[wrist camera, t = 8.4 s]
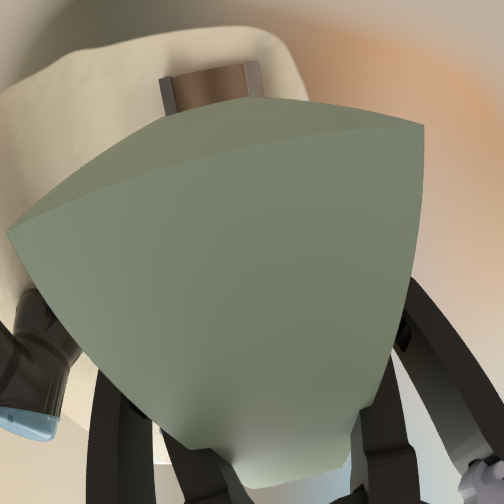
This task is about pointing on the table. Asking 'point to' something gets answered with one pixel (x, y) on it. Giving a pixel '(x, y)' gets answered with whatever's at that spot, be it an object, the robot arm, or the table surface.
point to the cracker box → (239, 273)
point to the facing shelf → (210, 87)
